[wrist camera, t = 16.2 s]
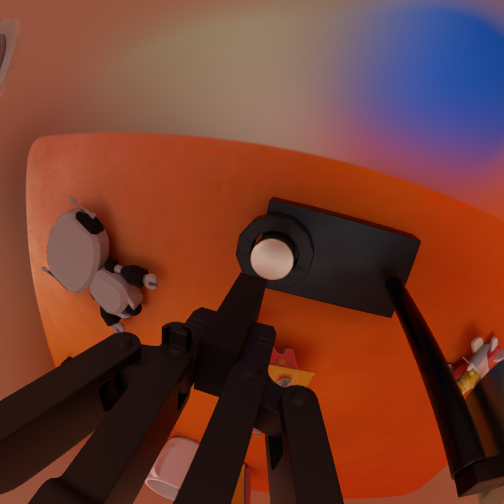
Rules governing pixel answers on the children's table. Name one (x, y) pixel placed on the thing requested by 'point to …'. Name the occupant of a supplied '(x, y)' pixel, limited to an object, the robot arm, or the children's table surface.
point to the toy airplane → (477, 363)
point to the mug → (172, 466)
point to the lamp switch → (273, 256)
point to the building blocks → (284, 375)
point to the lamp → (458, 407)
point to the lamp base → (333, 255)
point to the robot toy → (95, 266)
